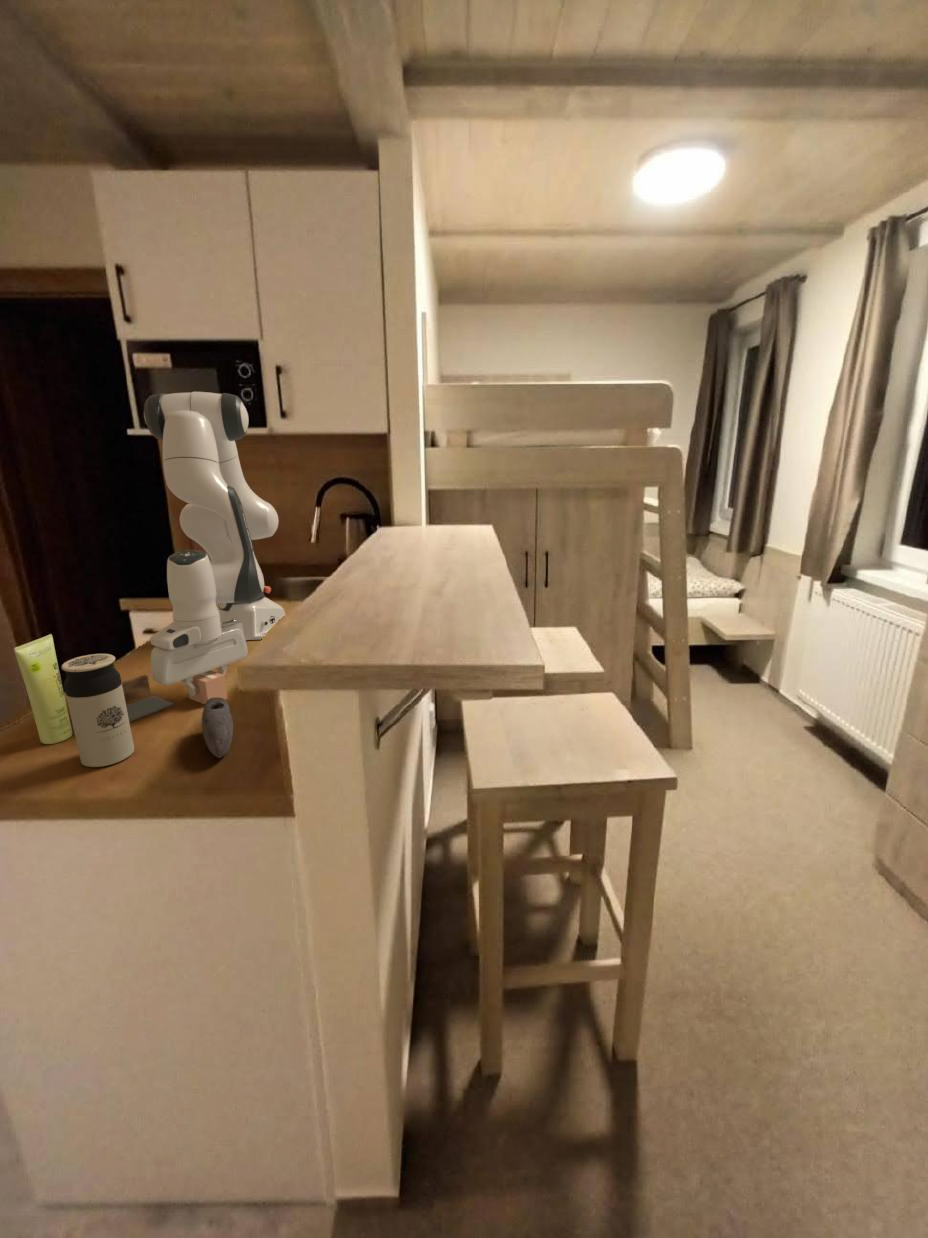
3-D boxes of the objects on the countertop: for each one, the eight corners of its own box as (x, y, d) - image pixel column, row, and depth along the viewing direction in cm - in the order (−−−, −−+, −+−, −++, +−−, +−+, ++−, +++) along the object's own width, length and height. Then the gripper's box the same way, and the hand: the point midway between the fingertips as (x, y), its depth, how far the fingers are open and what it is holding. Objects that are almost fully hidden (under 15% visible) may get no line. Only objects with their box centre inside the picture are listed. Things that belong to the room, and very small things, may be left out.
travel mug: (77, 756, 96) (55, 661, 91) (127, 740, 101) (110, 649, 96) (87, 774, 90) (64, 674, 85) (140, 756, 96) (122, 661, 91)
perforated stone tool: (235, 762, 94) (230, 726, 92) (202, 769, 92) (196, 732, 90) (234, 725, 107) (230, 692, 105) (205, 729, 105) (200, 697, 103)
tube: (72, 741, 101) (50, 642, 95) (38, 749, 98) (13, 647, 93) (73, 729, 105) (51, 633, 100) (41, 736, 103) (16, 638, 97)
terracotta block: (208, 691, 123) (204, 668, 121) (227, 698, 119) (224, 674, 117) (189, 698, 119) (185, 674, 117) (208, 706, 115) (205, 681, 114)
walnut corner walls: (147, 691, 122) (144, 674, 121) (182, 705, 116) (180, 687, 114) (75, 716, 111) (71, 698, 109) (110, 733, 104) (106, 714, 103)
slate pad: (153, 697, 119) (153, 695, 119) (173, 705, 116) (173, 703, 116) (105, 714, 111) (105, 712, 111) (124, 723, 108) (124, 722, 107)
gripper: (232, 615, 124) (239, 671, 128) (141, 639, 108) (153, 703, 112) (249, 619, 121) (256, 676, 125) (159, 645, 105) (170, 710, 109)
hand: (207, 689), depth 118 cm, fingers closed on terracotta block, 4 cm apart
